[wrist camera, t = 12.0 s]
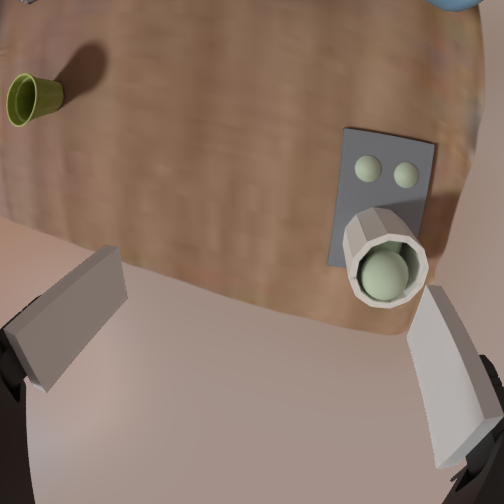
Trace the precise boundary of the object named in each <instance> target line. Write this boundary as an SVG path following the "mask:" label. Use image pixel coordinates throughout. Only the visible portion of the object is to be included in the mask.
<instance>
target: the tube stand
mask: <svg viewBox="0 0 504 504" xmlns="http://www.w3.org/2000/svg"><path fill="white" fill-rule="evenodd" d="M434 146H435V145H433V144H429V143H424V142H420V141H415V140H411V139H406V138H401V137H396V136H391V135H385V134H380V133H374V132H368V131H361V130H355V129H348V128H344V133H343V144H342V155H341V165H340V174H339V183H338V191H337V199H336V207H335V215H334V222H333V229H332V236H331V242H330V249H329V255H328V261H327V266H335V267H344V268H347V271H348V277H349V281H350V283H351V286H352V288H353V291H354V294H355V296H356V297H358V298H359V299H360V300H362V301H363V302H365V303H366V304H368V305H369V306H371V307H380V308H392V307H395V306H398V305H400V304H403V303H406V302H408V301H409V300H410V299H411V298H412V297H413V296H414V295H415V294H416V293H417V292H418V291H419V290H420V289H421V288H422V287H423V285H424V282H425V278H426V275H427V272H428V269H429V267H428V263H427V258H426V254H425V250H424V248H423V247H422V246H421V244H420V243H419V241H418V240H417V238H418V234H419V230H420V226H421V221H422V217H423V212H424V207H425V202H426V197H427V192H428V186H429V180H430V174H431V168H432V161H433V154H434ZM389 240H390V241H397V242H402V248H401V251H400V253H399V254H398V255H400V256H401V257H402V258H403V260H404V261H405V263H406V265H407V267H408V282H407V285H406V287H405V289H404V290H403V291H402V293H401V294H399V295H398V296H397V297H395V298H393V299H389V300H379V299H376V298H374V297H372V296H370V295H369V294H368V293H367V292H366V290H365V289H364V287H363V285H362V281H361V270H362V266H363V264H364V262H365V261H366V259H367V258H366V257H365V256H364V255H365V254H366V253H367V252H368V251H369V250H370V248H371V247H373V246H376V245H379V244H381V243H384V242H386V241H389Z"/></svg>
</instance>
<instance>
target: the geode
mask: <svg viewBox="0 0 504 504" xmlns="http://www.w3.org/2000/svg"><path fill="white" fill-rule="evenodd" d="M16 1H22V2H23V3H26V4H31V3H33V2H34V1H36V0H16Z"/></svg>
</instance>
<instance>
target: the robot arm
mask: <svg viewBox="0 0 504 504" xmlns="http://www.w3.org/2000/svg"><path fill="white" fill-rule="evenodd" d="M425 1H427V2H429V3H431V4H432V5H434V6H436V7H437V8H439V9H442V10H444V11H452V12H459V11H463V10H466V9H469V8H471V7H473V6H475V5H477V4H478V3H480V2H481V1H483V0H425ZM127 299H128V297H127V291H126V286H125V281H124V276H123V270H122V264H121V258H120V251H119V247H117V246H110V245H105V246H104V247H102V248H101V249H100V250H98V251H97V252H96V253H94V254H93V255H92V256H90V257H89V258H88V259H86V260H85V261H84V262H82V263H81V264H80V265H78V266H77V267H76V268H75V269H73V270H72V271H71V272H70V273H68V274H67V275H66V276H64V277H63V278H62V279H61V280H59V281H58V282H57V283H56V284H55V285H53V286H52V287H51V288H50V289H49V290H47V291H46V292H45V293H44V294H42V295H40V296H38V297H36V298H35V299H34V300H33V301H32V302H30V303H29V304H28V306H26V307H25V308H23V310H22V312H19V313H18V314H17V315H15V316H14V317H13V318H12V319H11V320H10V321H9V322H8V323H6V324H5V325H4V326H3V327H2V328H1V329H0V504H35V500H34V494H33V488H32V482H31V475H30V467H29V457H28V448H27V447H28V446H27V430H26V384H25V382H24V380H23V379H24V378H25V377H26V376H28V378H29V379H30V381H31V383H32V384H33V386H34V387H36V388H38V389H39V390H41V391H43V392H45V393H47V392H48V391H49V390H50V388H51V387H52V386H53V385H54V383H55V382H56V381H57V380H58V379H59V377H60V376H61V375H62V374H63V372H64V371H65V370H66V369H67V368H68V366H69V365H70V364H71V363H72V362H73V360H74V359H75V358H76V357H77V356H78V354H79V353H80V352H81V351H82V350H83V349H84V347H85V346H86V345H87V344H88V342H89V341H90V340H91V339H92V338H93V337H94V335H96V333H97V332H98V331H99V330H100V329H101V327H103V325H104V324H105V323H106V322H107V321H108V320H109V319H110V317H111V316H112V315H113V314H114V313H115V312H116V311H117V310H118V309H119V307H120V306H121V305H122V304H123V303H124V302H125V301H126V300H127ZM406 338H407V341H408V344H409V348H410V351H411V355H412V358H413V361H414V365H415V369H416V373H417V377H418V380H419V384H420V388H421V392H422V397H423V401H424V405H425V410H426V414H427V419H428V424H429V429H430V434H431V440H432V445H433V451H434V457H435V463H436V469H440V468H446V467H453V466H456V465H457V464H458V463H459V462H460V461H461V460H463V459H464V458H465V457H466V461H467V465H466V466H465V467H464V468H463V469H462V470H461V471H459V472H458V473H457V474H456V475H455V476H453V478H452V479H451V480H450V481H451V482H453V481H454V480H455V479H456V478H457V480H456V482H455V484H454V485H453V487H452V489H451V490H450V492H449V494H448V495H447V497H446V498H445V500H444V502H443V503H442V504H504V387H503V386H502V382H501V380H500V378H498V374H497V372H496V370H495V367H494V365H493V364H492V363H491V362H490V361H489V359H488V358H487V357H486V356H485V355H478V352H477V350H476V349H475V347H474V344H473V342H472V340H471V339H470V336H469V334H468V333H467V331H466V329H465V327H464V325H463V323H462V321H461V319H460V318H459V316H458V314H457V312H456V310H455V308H454V307H453V305H452V303H451V302H450V300H449V298H448V296H447V295H446V293H445V291H444V290H443V288H442V286H435V285H426V286H425V289H424V292H423V295H422V298H421V301H420V304H419V306H418V309H417V312H416V314H415V317H414V320H413V322H412V325H411V327H410V330H409V332H408V335H407V337H406Z"/></svg>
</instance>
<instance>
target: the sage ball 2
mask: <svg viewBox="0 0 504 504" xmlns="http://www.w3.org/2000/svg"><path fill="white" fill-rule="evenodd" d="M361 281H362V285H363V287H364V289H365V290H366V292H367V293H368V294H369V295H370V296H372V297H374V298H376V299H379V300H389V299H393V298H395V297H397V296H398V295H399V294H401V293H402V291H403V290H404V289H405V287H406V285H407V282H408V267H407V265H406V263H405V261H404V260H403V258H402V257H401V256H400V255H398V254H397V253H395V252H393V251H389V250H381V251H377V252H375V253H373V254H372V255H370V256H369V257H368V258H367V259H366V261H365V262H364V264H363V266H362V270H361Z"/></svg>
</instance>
